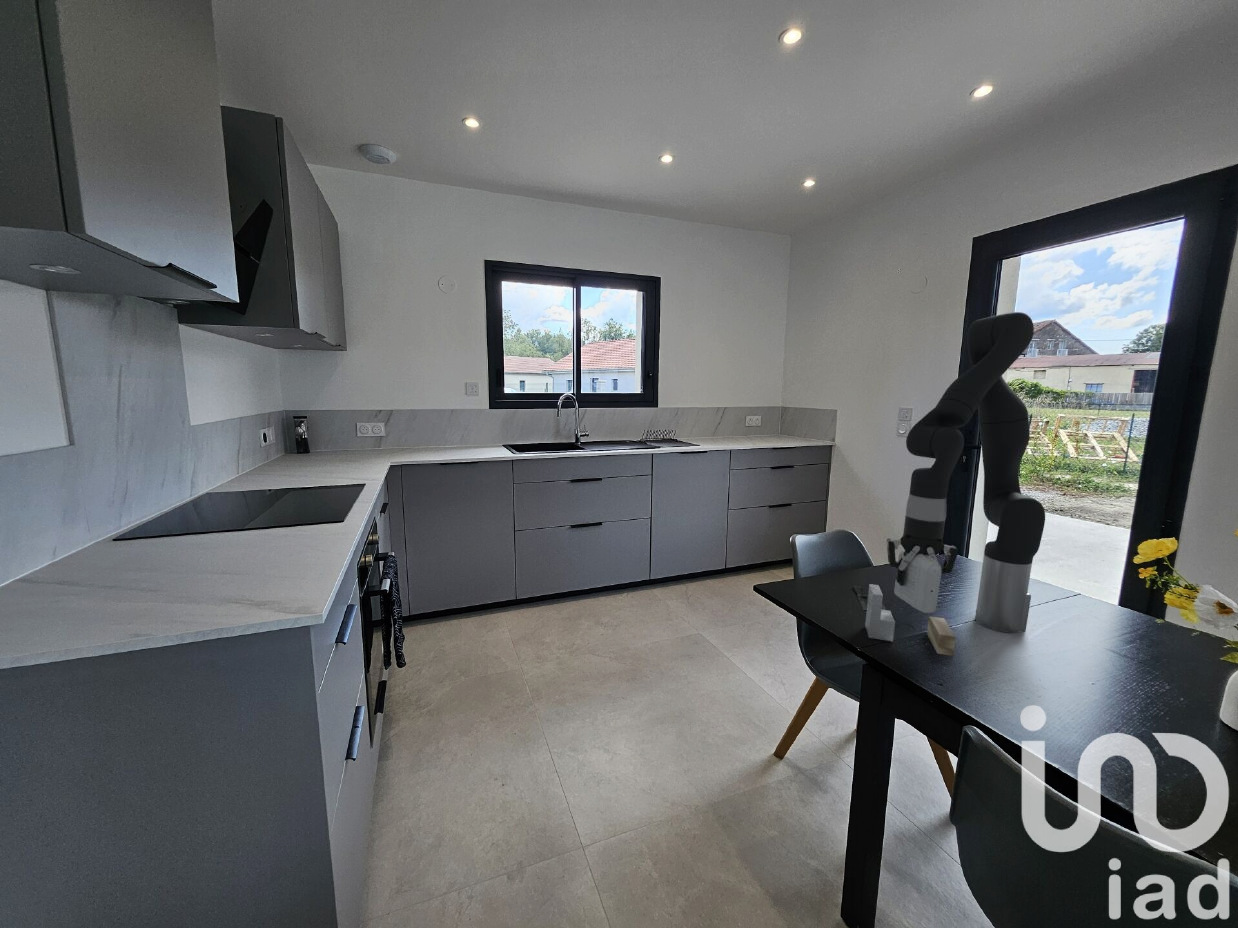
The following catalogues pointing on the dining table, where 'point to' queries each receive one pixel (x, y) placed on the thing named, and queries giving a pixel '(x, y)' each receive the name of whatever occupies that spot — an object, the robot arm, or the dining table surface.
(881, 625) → the clamp jaw
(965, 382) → the robot arm
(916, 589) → the rounded stone tablet
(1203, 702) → the dining table surface
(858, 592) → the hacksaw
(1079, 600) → the dining table surface
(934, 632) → the block
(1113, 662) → the dining table surface
